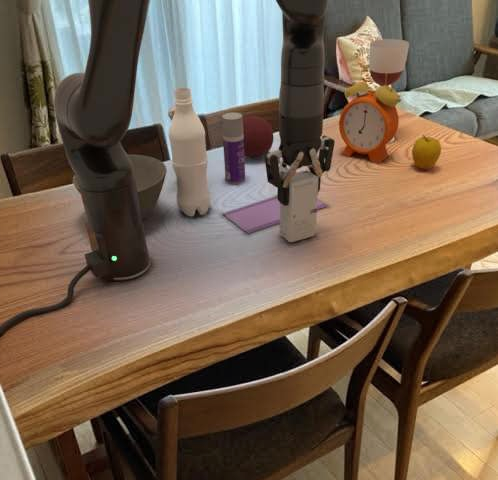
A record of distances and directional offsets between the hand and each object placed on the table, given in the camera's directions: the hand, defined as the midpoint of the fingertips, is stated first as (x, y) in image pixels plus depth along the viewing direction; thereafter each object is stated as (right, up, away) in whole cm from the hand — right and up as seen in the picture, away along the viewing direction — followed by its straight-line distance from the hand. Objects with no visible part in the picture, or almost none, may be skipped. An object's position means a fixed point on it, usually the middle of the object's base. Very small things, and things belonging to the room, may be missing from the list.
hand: (298, 198), depth 102 cm
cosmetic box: (0, -6, +5) cm, 8 cm away
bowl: (-35, -1, +13) cm, 38 cm away
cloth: (-4, 0, +13) cm, 14 cm away
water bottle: (-21, +1, +14) cm, 26 cm away
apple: (+32, +14, +28) cm, 45 cm away
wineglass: (+25, +26, +44) cm, 57 cm away
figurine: (-23, +9, +24) cm, 35 cm away
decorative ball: (-8, +19, +36) cm, 41 cm away
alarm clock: (+20, +19, +35) cm, 44 cm away
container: (-13, +10, +26) cm, 30 cm away
